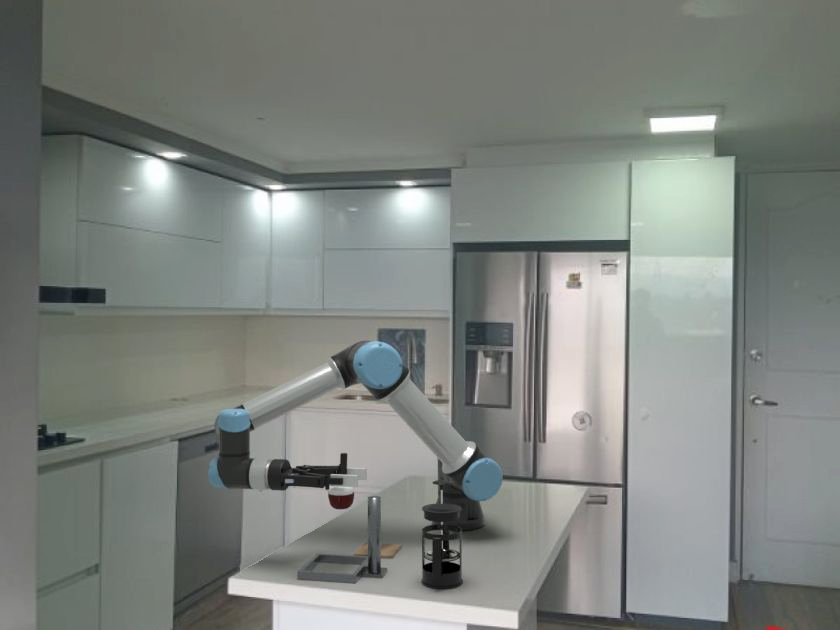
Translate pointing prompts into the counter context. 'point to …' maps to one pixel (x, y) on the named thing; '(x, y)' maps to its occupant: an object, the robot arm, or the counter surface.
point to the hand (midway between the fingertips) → (361, 477)
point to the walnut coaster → (386, 550)
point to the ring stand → (368, 564)
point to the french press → (441, 545)
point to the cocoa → (341, 489)
